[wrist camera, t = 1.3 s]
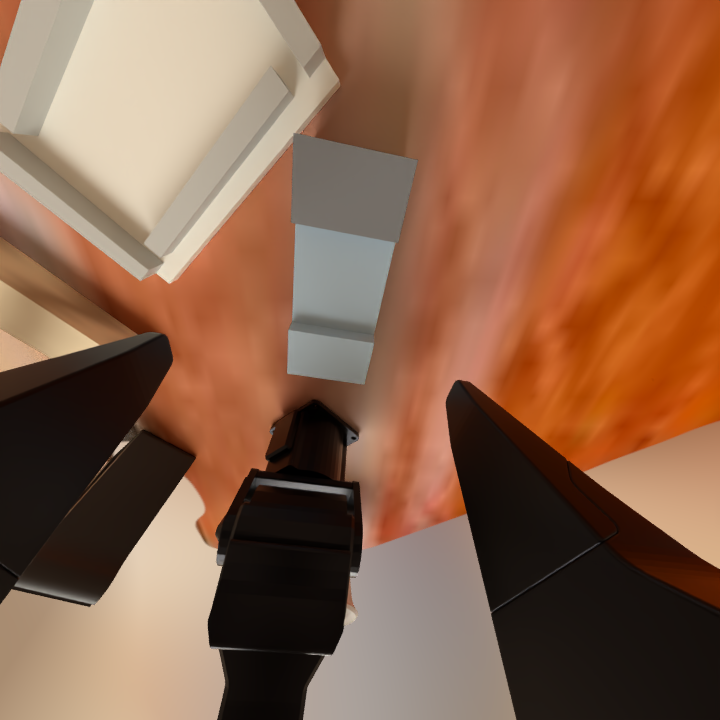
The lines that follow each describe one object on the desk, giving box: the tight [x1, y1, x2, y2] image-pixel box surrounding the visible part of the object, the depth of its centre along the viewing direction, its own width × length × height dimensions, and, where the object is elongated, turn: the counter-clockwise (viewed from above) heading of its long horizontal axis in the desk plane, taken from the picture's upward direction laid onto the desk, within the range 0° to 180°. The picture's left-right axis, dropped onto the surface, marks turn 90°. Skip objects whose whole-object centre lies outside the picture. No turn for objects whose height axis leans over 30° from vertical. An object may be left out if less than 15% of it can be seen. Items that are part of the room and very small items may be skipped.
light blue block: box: [287, 133, 418, 385], centre depth 16 cm, size 12×5×5 cm, turn 170°
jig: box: [0, 0, 341, 284], centre depth 13 cm, size 15×10×2 cm, turn 129°
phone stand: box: [12, 430, 196, 607], centre depth 26 cm, size 9×6×12 cm, turn 130°
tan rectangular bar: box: [0, 237, 138, 358], centre depth 19 cm, size 14×4×3 cm, turn 38°
